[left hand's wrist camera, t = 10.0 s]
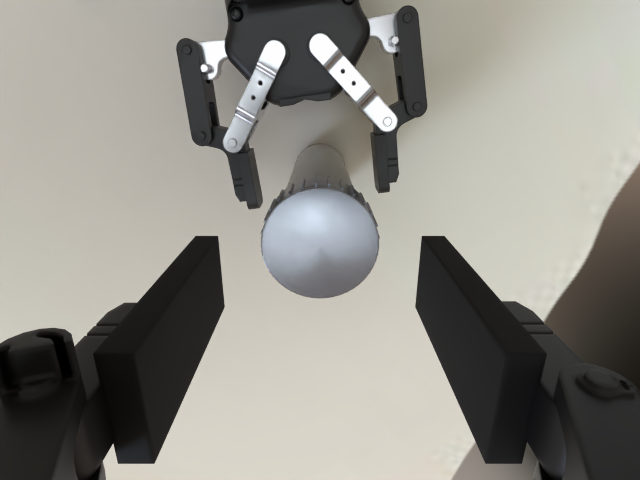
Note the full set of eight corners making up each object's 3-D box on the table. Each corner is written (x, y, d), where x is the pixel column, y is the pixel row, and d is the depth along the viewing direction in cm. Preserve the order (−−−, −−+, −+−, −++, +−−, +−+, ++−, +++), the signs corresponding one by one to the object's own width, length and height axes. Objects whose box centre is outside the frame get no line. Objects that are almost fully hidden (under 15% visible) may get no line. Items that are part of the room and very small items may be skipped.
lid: (244, 217, 18) (234, 233, 16) (332, 151, 17) (333, 160, 15) (309, 295, 20) (307, 320, 18) (394, 239, 19) (404, 258, 17)
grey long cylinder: (284, 164, 33) (250, 232, 17) (325, 133, 32) (331, 173, 16) (314, 203, 34) (310, 303, 18) (354, 174, 33) (388, 252, 17)
